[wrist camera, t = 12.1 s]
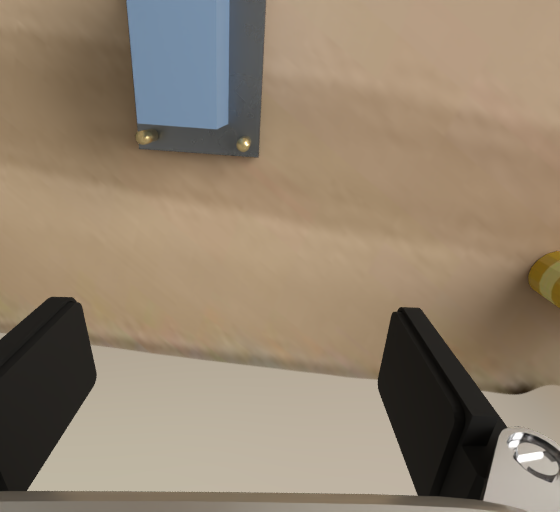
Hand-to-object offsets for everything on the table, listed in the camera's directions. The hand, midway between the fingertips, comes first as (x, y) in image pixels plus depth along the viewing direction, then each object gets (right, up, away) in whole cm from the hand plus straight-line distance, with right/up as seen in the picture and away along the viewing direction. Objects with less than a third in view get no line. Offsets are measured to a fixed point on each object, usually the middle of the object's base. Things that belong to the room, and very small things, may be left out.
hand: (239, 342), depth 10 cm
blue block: (-6, +21, +21) cm, 30 cm away
